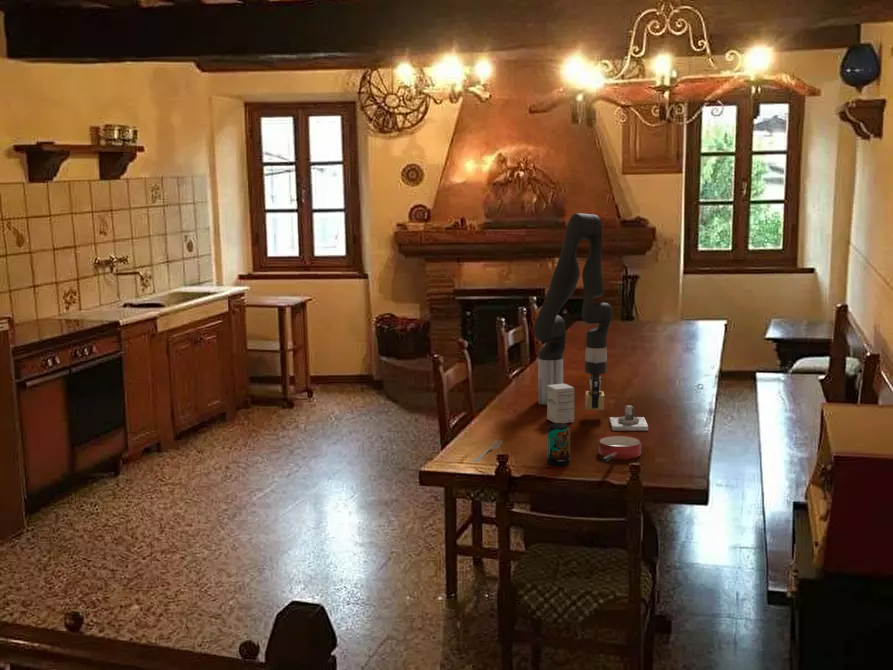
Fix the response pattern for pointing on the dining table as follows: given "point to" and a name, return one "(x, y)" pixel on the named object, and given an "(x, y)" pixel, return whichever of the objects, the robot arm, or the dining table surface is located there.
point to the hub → (600, 400)
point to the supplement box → (560, 403)
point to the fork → (487, 451)
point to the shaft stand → (628, 421)
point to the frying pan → (619, 447)
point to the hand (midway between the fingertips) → (594, 405)
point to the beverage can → (558, 444)
